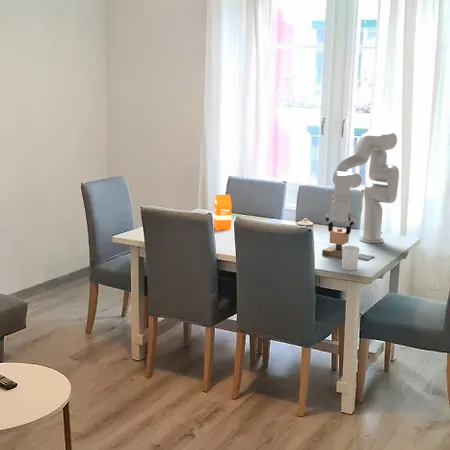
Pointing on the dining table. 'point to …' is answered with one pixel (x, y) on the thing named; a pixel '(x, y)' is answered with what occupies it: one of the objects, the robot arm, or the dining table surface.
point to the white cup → (350, 257)
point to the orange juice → (222, 212)
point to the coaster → (365, 257)
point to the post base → (333, 251)
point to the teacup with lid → (305, 223)
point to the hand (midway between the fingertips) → (339, 232)
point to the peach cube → (339, 236)
